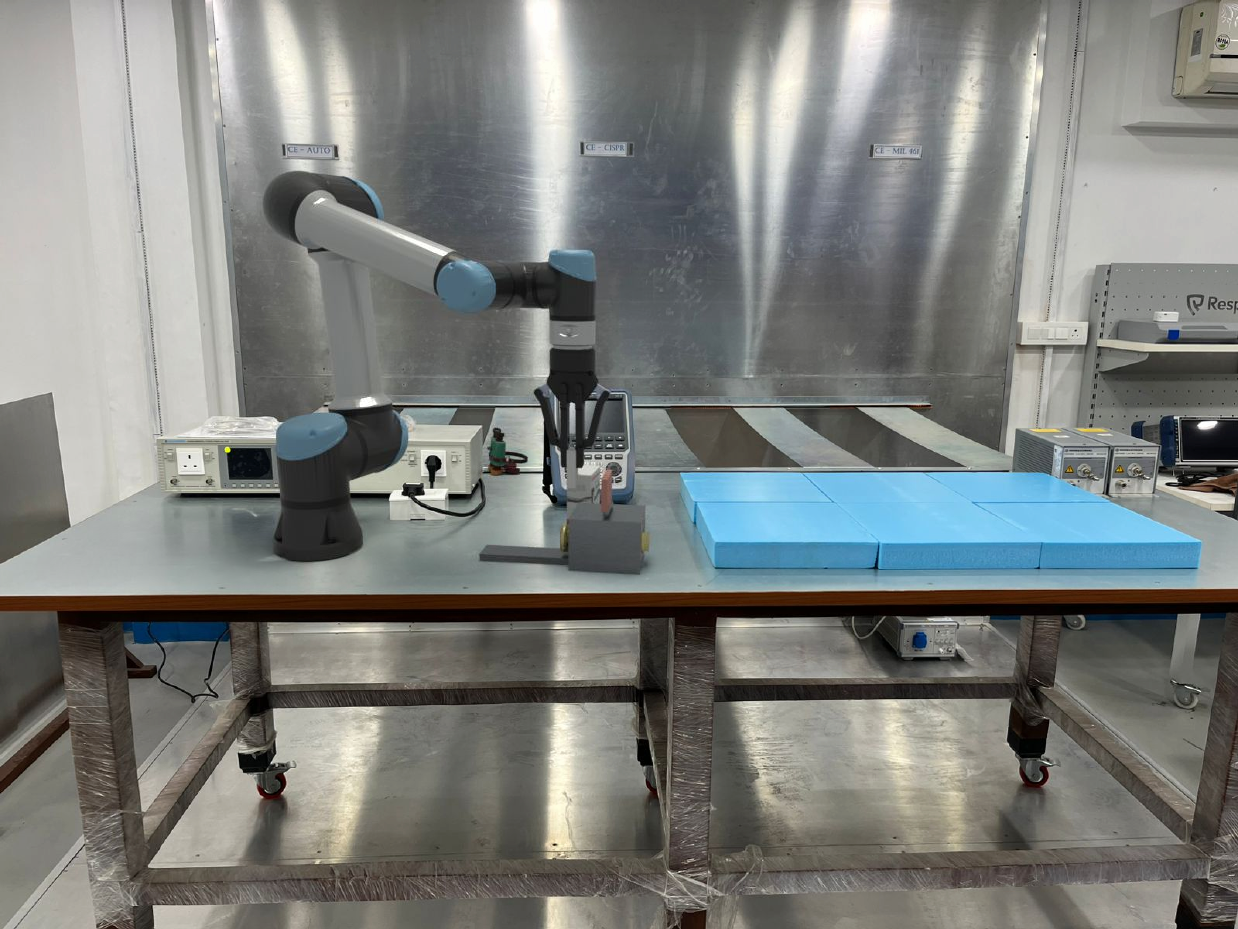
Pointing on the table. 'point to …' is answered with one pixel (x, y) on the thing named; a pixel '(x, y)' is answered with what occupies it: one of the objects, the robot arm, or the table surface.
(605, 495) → the salmon pink slab
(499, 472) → the green pump
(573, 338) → the robot arm
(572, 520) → the block
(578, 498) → the ink box
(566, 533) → the lynch pin
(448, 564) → the table surface
